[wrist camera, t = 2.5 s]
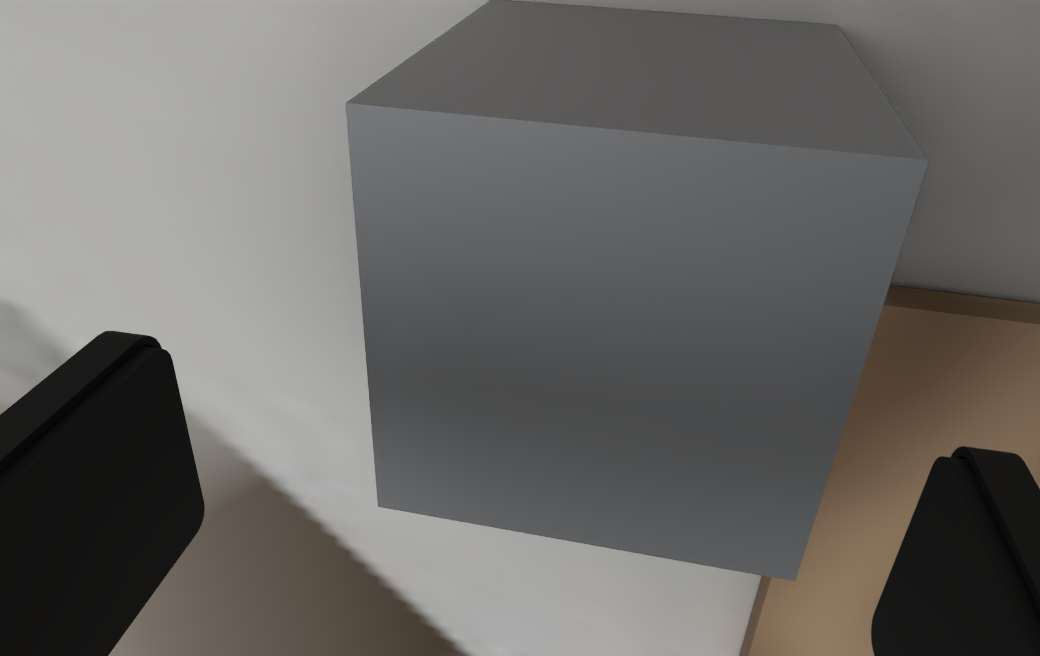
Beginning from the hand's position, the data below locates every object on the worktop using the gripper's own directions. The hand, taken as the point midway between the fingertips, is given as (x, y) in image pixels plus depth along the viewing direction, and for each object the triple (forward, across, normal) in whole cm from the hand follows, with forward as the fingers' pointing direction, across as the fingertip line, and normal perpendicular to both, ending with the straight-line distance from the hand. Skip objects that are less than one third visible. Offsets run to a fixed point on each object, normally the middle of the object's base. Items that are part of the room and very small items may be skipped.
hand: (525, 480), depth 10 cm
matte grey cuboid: (+10, -1, 0) cm, 10 cm away
